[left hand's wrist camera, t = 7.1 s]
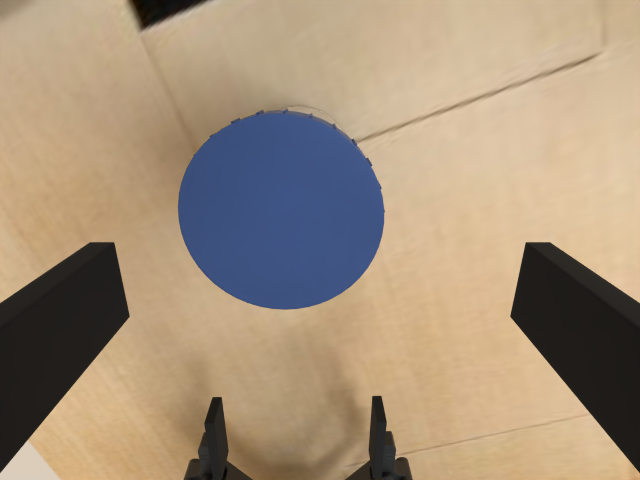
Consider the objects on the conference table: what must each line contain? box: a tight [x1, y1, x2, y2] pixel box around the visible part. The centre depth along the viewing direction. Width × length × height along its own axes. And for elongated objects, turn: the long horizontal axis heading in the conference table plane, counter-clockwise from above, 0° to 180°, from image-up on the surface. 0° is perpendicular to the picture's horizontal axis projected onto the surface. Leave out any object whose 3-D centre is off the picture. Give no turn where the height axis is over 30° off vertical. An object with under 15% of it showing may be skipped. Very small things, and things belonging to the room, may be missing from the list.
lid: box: [178, 109, 385, 309], centre depth 19 cm, size 10×10×2 cm
